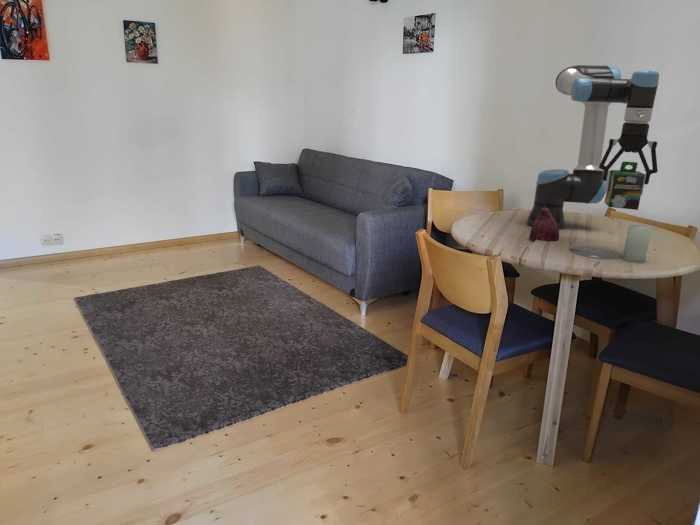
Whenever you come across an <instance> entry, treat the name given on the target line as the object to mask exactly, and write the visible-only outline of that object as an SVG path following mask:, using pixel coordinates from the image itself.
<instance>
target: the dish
mask: <svg viewBox="0 0 700 525" xmlns="http://www.w3.org/2000/svg"><path fill="white" fill-rule="evenodd" d="M568 251H570V253H573V254H574V255H577V256H579V257H580V256H581V257H586V258H590V259H596V260H597V259H598V260H616V259H617V260H618V259H620V258H621V255H620V254H619V253H618V252H616V251H613V250H610V249H608V248H602V247H596V246H589V245H588V246H587V245H579V246H578V245H576V246H570V247H569V248H568Z"/></svg>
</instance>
